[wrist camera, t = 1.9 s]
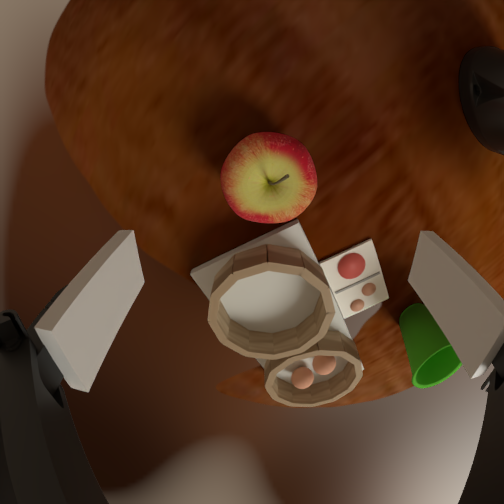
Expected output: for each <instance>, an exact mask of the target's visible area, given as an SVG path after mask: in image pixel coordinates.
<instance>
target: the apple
mask: <svg viewBox="0 0 504 504" xmlns="http://www.w3.org/2000/svg"><path fill="white" fill-rule="evenodd" d="M221 186H222V191H223V194H224V196H225V199H226V201H227V203H228V204H229V206H230V207H231V209H232V210H233V211H234V212H235V213H236V214H237V215H238V216H240V217H241V218H243V219H246V220H249V221H253V222H259V223H282V222H287V221H290V220H292V219H294V218H295V217H297V216H298V215H300V214H301V213H302V212H303V211H304V210H305V209H306V208H307V207H308V205H309V204H310V203H311V201H312V200H313V198H314V196H315V193H316V190H317V175H316V170H315V166H314V163H313V160H312V158H311V156H310V154H309V152H308V150H307V149H306V148H305V146H304V145H303V144H302V143H301V142H299V141H298V140H297V139H295V138H293V137H290V136H288V135H285V134H281V133H275V132H258V133H253V134H251V135H248V136H247V137H245V138H244V139H242V140H241V141H240V142H239V143H238V144H237V145H236V146H235V147H234V148H233V149H232V150H231V152H230V153H229V154H228V156H227V158H226V160H225V162H224V164H223V166H222V170H221Z"/></svg>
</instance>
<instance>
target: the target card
mask: <svg viewBox="0 0 504 504" xmlns="http://www.w3.org/2000/svg"><path fill="white" fill-rule="evenodd" d="M319 264H320V266H321V267H322V269H323V272H324V274H325V277H326V279H327V281H328V283H329V286H330V288H331V290H332V292H333V295H334V297H335V299H336V301H337V304H338V306H339V308H340V311H341V313H342V315H343V318H344V319H345V318H347V317H350V316H352V315H354V314H356V313H358V312H361V311H363V310H365V309H367V308H370V307H372V306H374V305H376V304H378V303H380V302H382V301H384V300H387V299H389V296H388V292H387V289H386V285H385V281H384V278H383V274H382V271H381V267H380V264H379V261H378V257H377V254H376V251H375V248H374V245H373V242H372V239H368V240H366V241H364V242H362V243H360V244H358V245H356V246H354V247H352V248H349V249H347V250H345V251H343V252H341V253H339V254H336V255H334V256H332V257H330V258H328V259H326V260H323V261H321V262H319Z"/></svg>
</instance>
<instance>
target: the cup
mask: <svg viewBox="0 0 504 504" xmlns="http://www.w3.org/2000/svg"><path fill="white" fill-rule="evenodd" d="M399 326H400V329H401V333H402V336H403V340H404V343H405V347H406V351H407V355H408V358H409V362H410V366H411V371H412V375H413V376H412V383H413V385H414V386H416V387H418V388H428V387H431V386H434V385H436V384H439V383H440V382H442V381H444V380H446V379H447V378H448V377H450V376H451V375H452V374H454V373H455V372H456V371H457V370H458V369H459V367H460V366H461V365H462V363H461V361H460V359H459V358H458V356H457V354H456V352H455V351H454V349H453V347H452V346H451V344H450V343H449V341H448V339H447V338H446V336H445V334H444V333H443V331H442V330H441V328H440V327H439V325H438V324H437V322H436V321H435V319H434V318H433V316H432V315H431V313H430V312H429V310H428V309H427V307H426V306H425V305H423V304H420V303H416V304H413V305H411V306H409V307H408V308H406V309H405V310H404V311H403V313H402V314H401V316H400V319H399Z"/></svg>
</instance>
